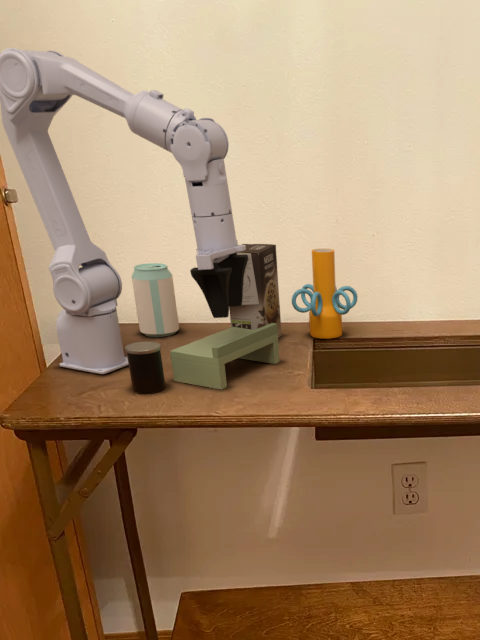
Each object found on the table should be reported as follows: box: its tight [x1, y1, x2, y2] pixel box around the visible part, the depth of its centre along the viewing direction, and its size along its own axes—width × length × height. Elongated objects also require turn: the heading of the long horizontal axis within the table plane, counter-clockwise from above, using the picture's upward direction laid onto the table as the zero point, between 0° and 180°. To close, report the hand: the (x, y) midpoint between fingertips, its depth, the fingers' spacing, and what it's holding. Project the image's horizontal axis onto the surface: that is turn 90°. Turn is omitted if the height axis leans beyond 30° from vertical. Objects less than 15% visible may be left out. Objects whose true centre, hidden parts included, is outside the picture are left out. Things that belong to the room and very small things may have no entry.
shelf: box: [169, 323, 281, 390], centre depth 127 cm, size 9×16×6 cm, turn 155°
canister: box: [124, 341, 167, 395], centre depth 119 cm, size 5×5×6 cm
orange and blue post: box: [291, 248, 358, 340], centre depth 144 cm, size 12×10×15 cm
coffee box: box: [229, 243, 283, 339], centre depth 140 cm, size 9×6×16 cm
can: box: [131, 262, 180, 338], centre depth 145 cm, size 7×7×12 cm
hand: (228, 311), depth 120 cm, fingers open, 7 cm apart
